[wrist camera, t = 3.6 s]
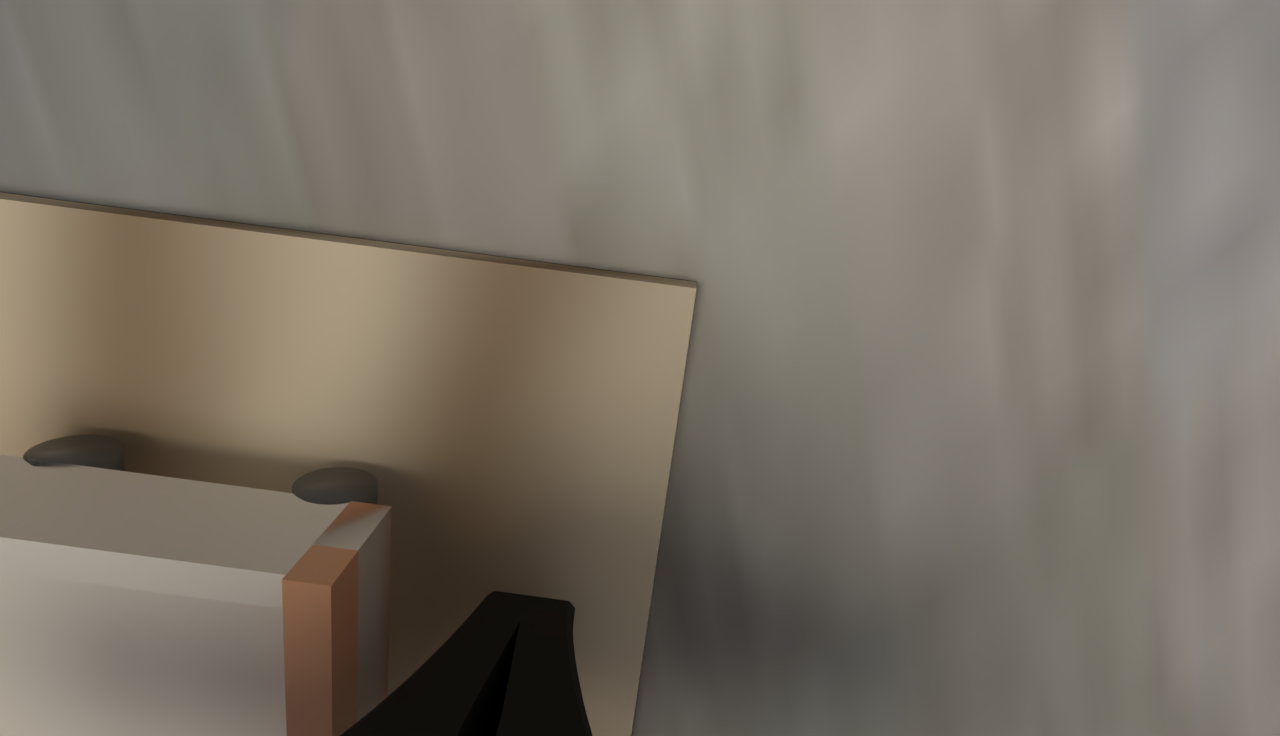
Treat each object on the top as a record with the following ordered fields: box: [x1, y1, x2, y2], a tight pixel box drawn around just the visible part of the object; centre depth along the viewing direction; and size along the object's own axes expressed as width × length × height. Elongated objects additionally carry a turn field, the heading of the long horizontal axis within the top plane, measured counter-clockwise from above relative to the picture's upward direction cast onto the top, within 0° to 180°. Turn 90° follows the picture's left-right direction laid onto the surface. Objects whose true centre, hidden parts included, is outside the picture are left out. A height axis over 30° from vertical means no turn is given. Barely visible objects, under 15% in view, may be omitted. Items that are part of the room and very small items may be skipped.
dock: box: [0, 192, 697, 736], centre depth 12 cm, size 19×12×4 cm, turn 83°
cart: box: [0, 434, 392, 736], centre depth 11 cm, size 6×5×3 cm
